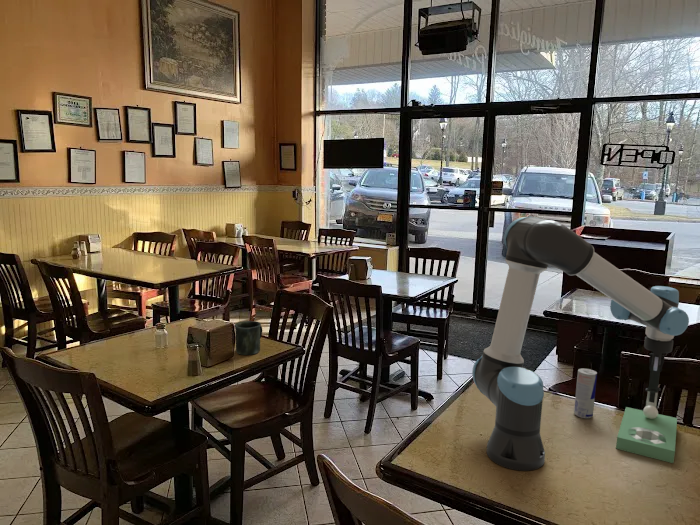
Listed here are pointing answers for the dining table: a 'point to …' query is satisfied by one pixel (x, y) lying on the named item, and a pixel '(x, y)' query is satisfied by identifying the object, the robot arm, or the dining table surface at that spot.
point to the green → (647, 435)
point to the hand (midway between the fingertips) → (650, 410)
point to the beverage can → (585, 393)
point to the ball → (650, 412)
